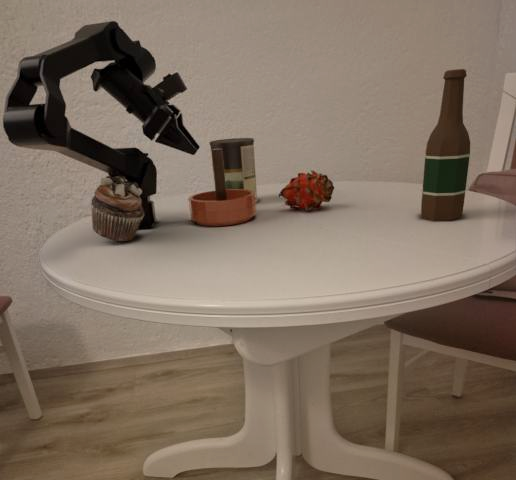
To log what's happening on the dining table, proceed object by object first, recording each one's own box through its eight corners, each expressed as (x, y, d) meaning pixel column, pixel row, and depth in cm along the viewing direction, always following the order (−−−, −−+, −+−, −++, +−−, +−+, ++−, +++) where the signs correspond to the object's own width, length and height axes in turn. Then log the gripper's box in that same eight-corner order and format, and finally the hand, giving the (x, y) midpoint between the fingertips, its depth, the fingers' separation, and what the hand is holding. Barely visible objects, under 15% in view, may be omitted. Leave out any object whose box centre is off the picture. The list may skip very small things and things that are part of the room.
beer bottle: (455, 222, 85) (473, 67, 74) (412, 219, 90) (423, 72, 79) (468, 213, 91) (486, 67, 80) (427, 210, 95) (439, 71, 84)
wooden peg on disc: (221, 220, 97) (213, 151, 91) (202, 217, 101) (194, 150, 95) (244, 214, 100) (239, 147, 95) (225, 211, 105) (219, 147, 99)
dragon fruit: (339, 215, 104) (284, 227, 105) (331, 186, 108) (279, 198, 109) (338, 186, 96) (279, 199, 98) (329, 157, 100) (273, 170, 102)
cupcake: (75, 225, 88) (82, 171, 83) (110, 216, 96) (119, 167, 91) (117, 247, 86) (127, 194, 81) (149, 237, 94) (160, 188, 89)
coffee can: (225, 208, 111) (218, 143, 105) (210, 202, 120) (203, 141, 113) (265, 202, 115) (261, 138, 108) (247, 196, 123) (243, 137, 117)
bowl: (189, 229, 95) (185, 203, 93) (194, 215, 107) (191, 192, 105) (257, 224, 95) (256, 198, 93) (254, 210, 107) (253, 187, 105)
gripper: (149, 52, 81) (221, 119, 86) (163, 60, 97) (223, 116, 103) (112, 107, 84) (183, 169, 89) (131, 106, 101) (191, 158, 106)
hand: (197, 151), depth 97 cm, fingers open, 9 cm apart
